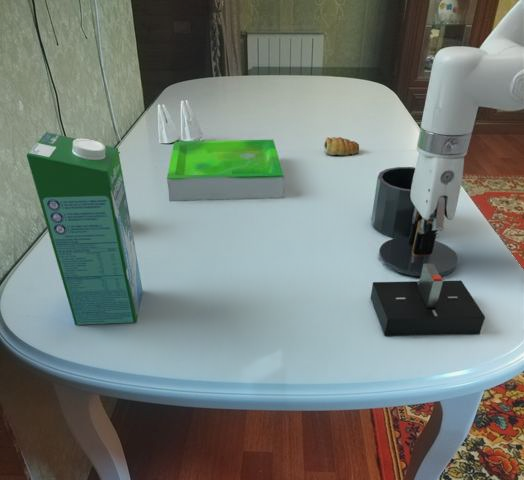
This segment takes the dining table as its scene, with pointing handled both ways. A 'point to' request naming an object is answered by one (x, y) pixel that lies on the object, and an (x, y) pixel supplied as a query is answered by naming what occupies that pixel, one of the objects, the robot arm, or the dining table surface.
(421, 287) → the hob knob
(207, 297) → the dining table surface
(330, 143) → the pastry
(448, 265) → the lid
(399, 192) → the pot
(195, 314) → the dining table surface
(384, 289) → the panel
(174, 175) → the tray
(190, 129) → the shaker set
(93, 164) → the milk carton
